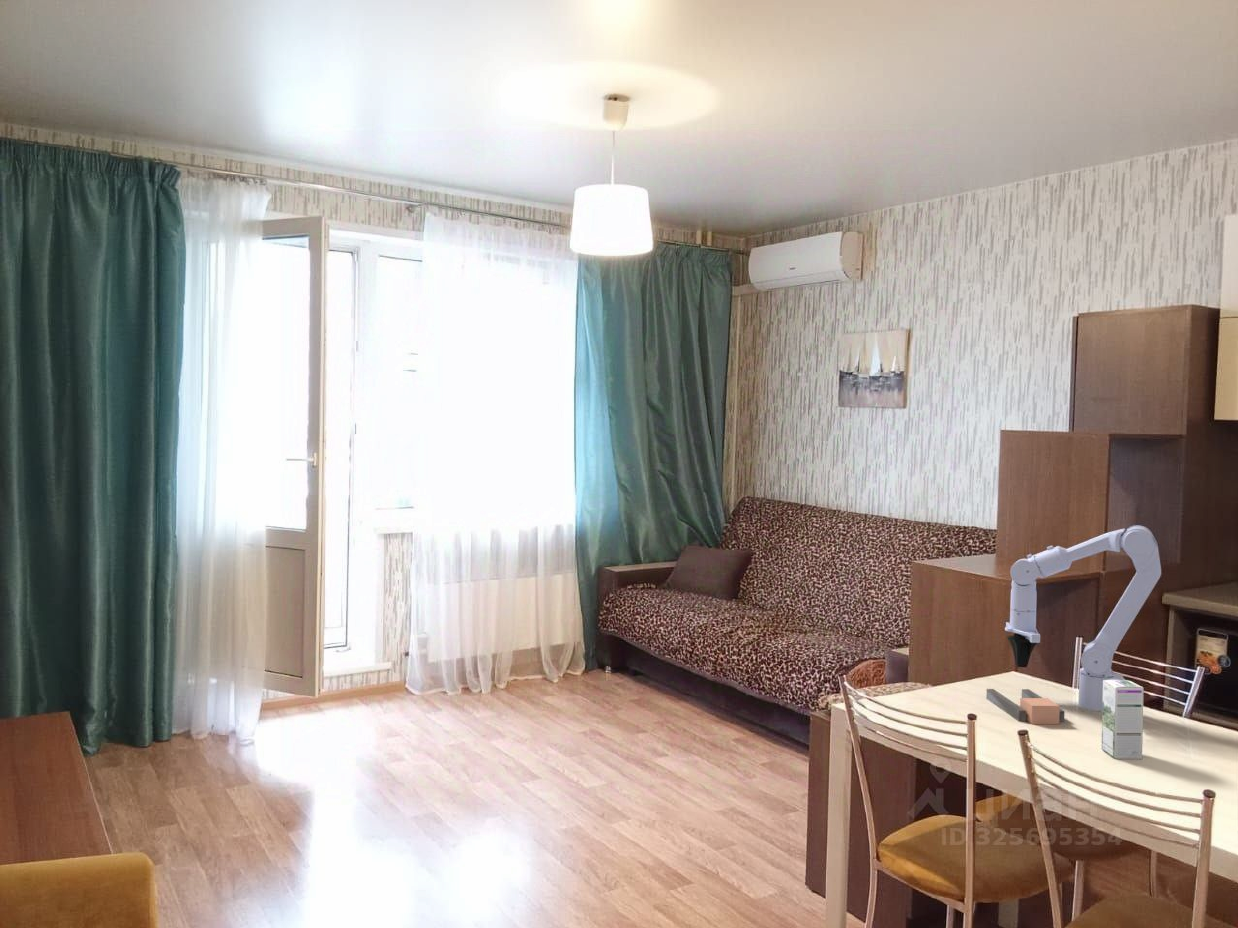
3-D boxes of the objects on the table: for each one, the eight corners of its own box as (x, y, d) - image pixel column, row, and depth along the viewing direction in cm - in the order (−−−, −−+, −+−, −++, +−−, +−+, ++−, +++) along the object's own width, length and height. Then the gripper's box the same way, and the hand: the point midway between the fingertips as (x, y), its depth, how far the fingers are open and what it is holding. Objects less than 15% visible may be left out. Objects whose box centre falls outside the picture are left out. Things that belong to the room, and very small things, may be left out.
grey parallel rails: (1026, 700, 236) (1027, 685, 236) (1075, 731, 212) (1075, 715, 212) (977, 699, 236) (977, 685, 236) (1019, 730, 212) (1020, 714, 212)
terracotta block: (1046, 716, 219) (1047, 698, 219) (1059, 724, 213) (1059, 705, 213) (1019, 715, 219) (1020, 697, 219) (1031, 723, 213) (1032, 705, 213)
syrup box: (1143, 759, 194) (1146, 686, 194) (1113, 759, 194) (1115, 686, 194) (1129, 750, 200) (1131, 679, 199) (1099, 749, 200) (1101, 678, 199)
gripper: (994, 604, 241) (992, 659, 242) (1019, 615, 227) (1017, 673, 227) (1022, 604, 241) (1021, 659, 242) (1049, 615, 227) (1048, 674, 227)
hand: (1021, 666), depth 235 cm, fingers closed
